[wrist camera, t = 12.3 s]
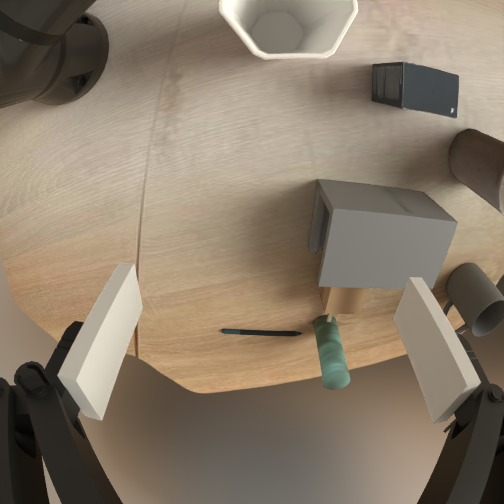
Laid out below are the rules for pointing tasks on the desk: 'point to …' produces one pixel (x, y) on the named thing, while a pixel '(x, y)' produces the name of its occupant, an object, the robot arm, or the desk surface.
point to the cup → (289, 26)
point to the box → (416, 88)
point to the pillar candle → (479, 165)
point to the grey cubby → (377, 235)
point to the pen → (260, 332)
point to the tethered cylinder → (335, 332)
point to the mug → (475, 300)
